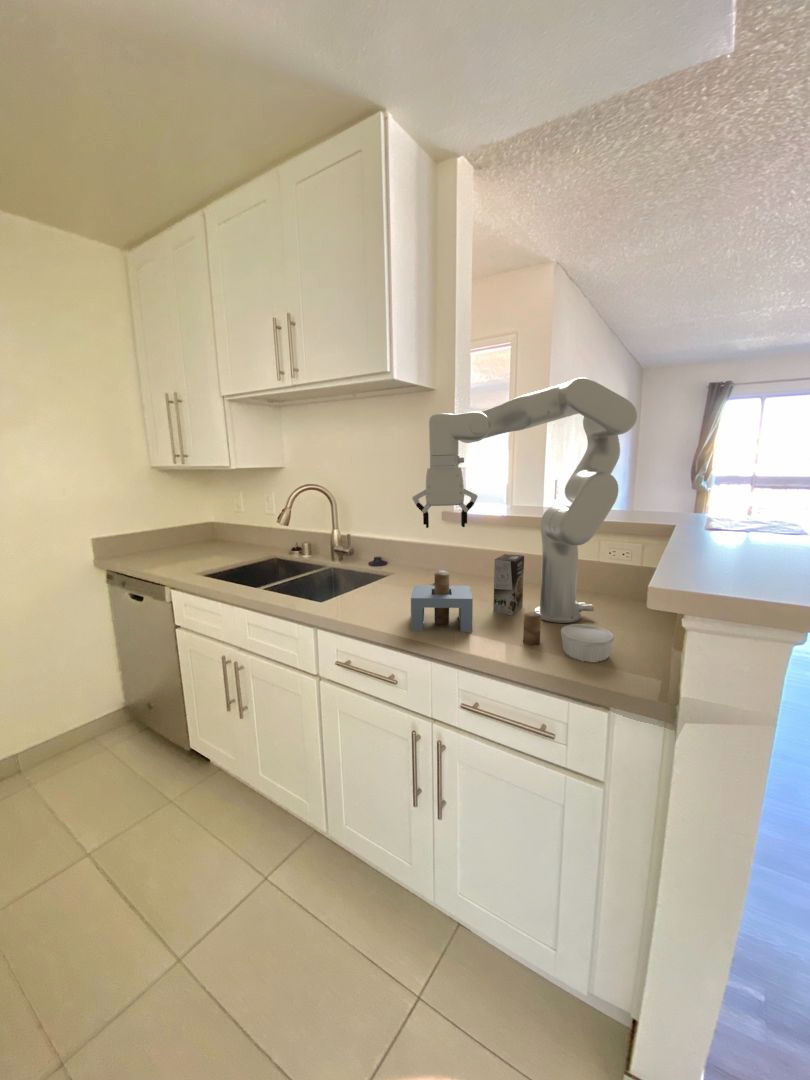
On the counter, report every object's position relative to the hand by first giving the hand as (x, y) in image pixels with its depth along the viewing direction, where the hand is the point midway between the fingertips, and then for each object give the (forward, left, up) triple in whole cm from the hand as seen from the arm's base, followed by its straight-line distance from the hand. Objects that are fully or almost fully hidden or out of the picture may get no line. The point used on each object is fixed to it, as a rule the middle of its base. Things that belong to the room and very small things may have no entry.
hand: (445, 526), depth 117 cm
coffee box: (-19, -10, -27) cm, 34 cm away
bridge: (+1, +2, -27) cm, 27 cm away
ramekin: (-32, +20, -27) cm, 46 cm away
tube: (+1, -27, -27) cm, 38 cm away
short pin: (-21, +14, -27) cm, 37 cm away
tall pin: (+1, +2, -27) cm, 27 cm away
